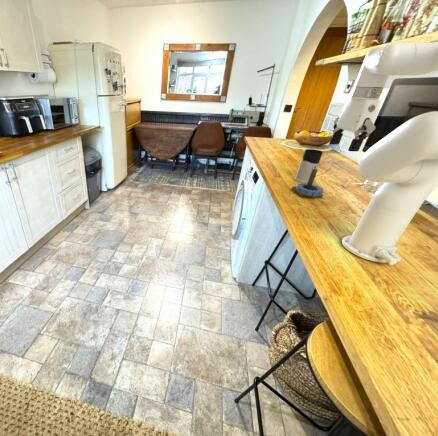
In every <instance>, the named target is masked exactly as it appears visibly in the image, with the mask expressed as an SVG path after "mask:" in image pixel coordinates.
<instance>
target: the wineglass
mask: <svg viewBox="0 0 438 436" xmlns="http://www.w3.org/2000/svg"><path fill="white" fill-rule="evenodd" d="M348 184H352V185H361V186H363V188H364V191H366V192H368V193H375V192H376V191H377V190H378V189H379V187H381V186H382V185H383V183H381V182H372V181H368V180H366V179H365V181H363V182H349V178H348V177H346V178H345V180H344V183H343V188H346V187H347V185H348Z"/></svg>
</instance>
